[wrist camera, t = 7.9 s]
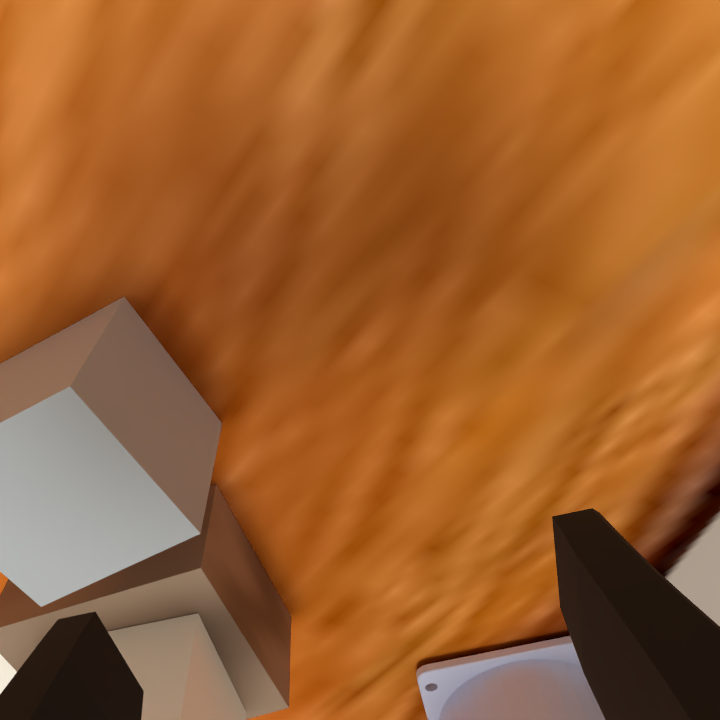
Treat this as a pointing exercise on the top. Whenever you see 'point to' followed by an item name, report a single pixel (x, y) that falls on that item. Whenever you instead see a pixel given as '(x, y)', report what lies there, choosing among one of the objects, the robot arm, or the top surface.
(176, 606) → the walnut slab
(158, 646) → the cream cube
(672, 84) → the top surface
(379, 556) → the top surface
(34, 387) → the slate cube
